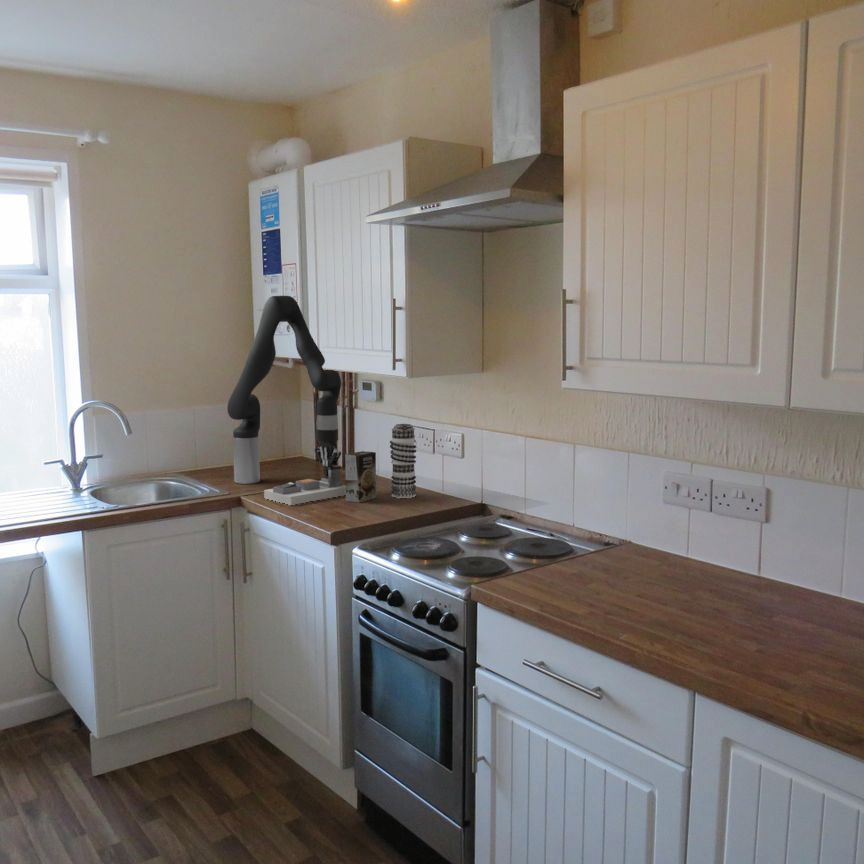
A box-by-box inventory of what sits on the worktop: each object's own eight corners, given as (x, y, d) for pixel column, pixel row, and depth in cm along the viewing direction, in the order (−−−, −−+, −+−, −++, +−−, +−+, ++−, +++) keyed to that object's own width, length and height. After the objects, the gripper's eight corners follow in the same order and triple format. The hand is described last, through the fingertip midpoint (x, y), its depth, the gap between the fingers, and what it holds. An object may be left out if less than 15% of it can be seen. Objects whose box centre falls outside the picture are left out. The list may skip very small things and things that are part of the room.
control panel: (264, 498, 293) (263, 483, 292) (323, 488, 310) (322, 473, 309) (291, 505, 281) (290, 489, 281) (350, 494, 299) (350, 479, 298)
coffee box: (359, 503, 285) (358, 455, 283) (345, 500, 289) (344, 453, 287) (377, 498, 292) (376, 451, 290) (363, 496, 296) (362, 450, 294)
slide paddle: (327, 486, 297) (327, 467, 296) (337, 484, 300) (337, 465, 299) (331, 487, 296) (330, 467, 295) (341, 485, 299) (340, 466, 298)
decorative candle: (388, 493, 299) (388, 423, 296) (415, 492, 301) (414, 422, 298) (392, 499, 290) (391, 426, 287) (418, 498, 292) (418, 425, 289)
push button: (299, 487, 295) (299, 480, 295) (309, 485, 298) (308, 479, 298) (306, 489, 292) (306, 482, 292) (315, 487, 295) (315, 480, 295)
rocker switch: (277, 490, 289) (277, 486, 289) (290, 485, 292) (289, 481, 292) (283, 491, 286) (283, 488, 286) (296, 486, 290) (295, 483, 289)
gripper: (307, 426, 300) (308, 475, 303) (330, 430, 291) (330, 480, 293) (324, 424, 305) (325, 472, 308) (347, 428, 296) (348, 477, 298)
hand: (328, 476), depth 300 cm, fingers closed
